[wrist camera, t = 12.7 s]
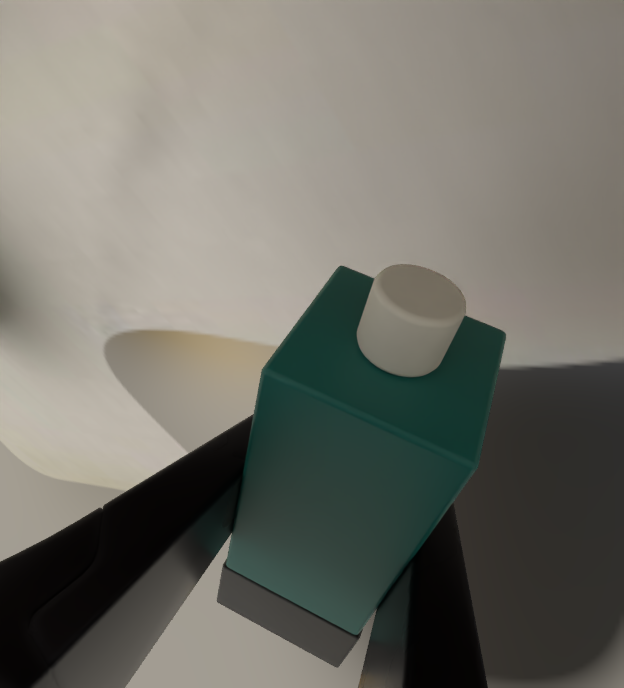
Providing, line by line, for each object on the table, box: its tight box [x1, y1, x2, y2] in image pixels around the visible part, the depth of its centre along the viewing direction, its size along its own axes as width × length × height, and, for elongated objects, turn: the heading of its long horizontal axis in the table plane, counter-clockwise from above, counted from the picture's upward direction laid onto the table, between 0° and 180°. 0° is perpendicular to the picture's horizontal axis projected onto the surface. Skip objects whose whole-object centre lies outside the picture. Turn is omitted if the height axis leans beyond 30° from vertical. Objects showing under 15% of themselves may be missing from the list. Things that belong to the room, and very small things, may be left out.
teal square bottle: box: [217, 264, 506, 667], centre depth 9 cm, size 8×3×3 cm, turn 167°
